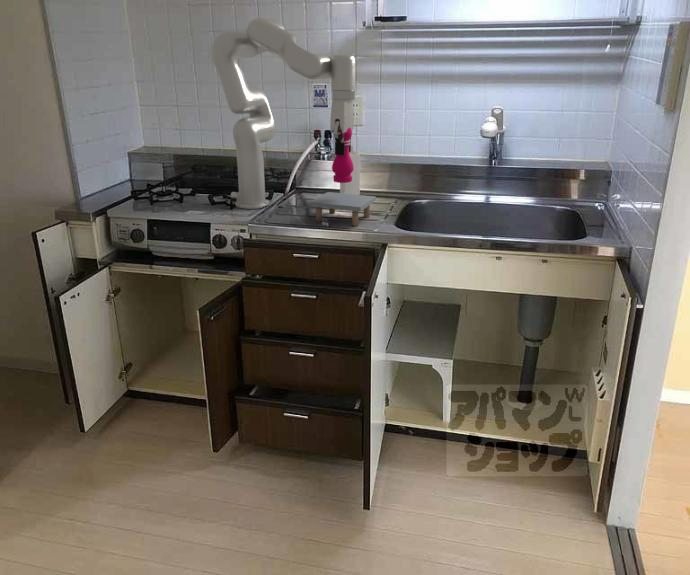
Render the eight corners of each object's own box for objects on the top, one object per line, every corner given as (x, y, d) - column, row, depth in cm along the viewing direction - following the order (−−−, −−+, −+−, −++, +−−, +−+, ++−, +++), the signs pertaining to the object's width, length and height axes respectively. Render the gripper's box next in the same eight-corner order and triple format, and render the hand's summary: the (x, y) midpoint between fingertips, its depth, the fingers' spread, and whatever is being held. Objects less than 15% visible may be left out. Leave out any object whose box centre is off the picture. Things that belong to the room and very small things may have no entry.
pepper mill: (351, 183, 199) (351, 121, 191) (329, 182, 200) (329, 120, 193) (355, 179, 205) (356, 118, 198) (334, 178, 207) (334, 118, 199)
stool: (309, 222, 203) (309, 201, 201) (327, 211, 217) (327, 191, 215) (360, 227, 198) (360, 207, 195) (375, 216, 212) (375, 196, 209)
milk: (344, 207, 223) (344, 146, 215) (339, 203, 229) (339, 144, 220) (359, 206, 225) (360, 146, 216) (354, 202, 230) (355, 143, 222)
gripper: (341, 93, 201) (341, 149, 208) (322, 97, 186) (322, 156, 193) (362, 94, 199) (362, 150, 205) (344, 98, 184) (344, 158, 191)
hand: (342, 152), depth 199 cm, fingers closed on pepper mill, 5 cm apart
